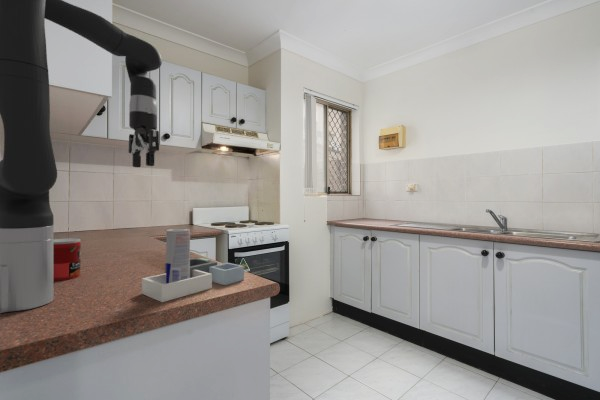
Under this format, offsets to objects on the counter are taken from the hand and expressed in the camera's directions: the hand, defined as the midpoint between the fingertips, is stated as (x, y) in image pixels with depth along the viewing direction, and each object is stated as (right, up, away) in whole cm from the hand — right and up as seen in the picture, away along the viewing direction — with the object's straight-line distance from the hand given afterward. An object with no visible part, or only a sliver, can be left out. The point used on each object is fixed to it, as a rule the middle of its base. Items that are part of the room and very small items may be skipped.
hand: (143, 166), depth 92 cm
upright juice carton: (+17, -33, -15) cm, 40 cm away
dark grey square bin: (+16, -33, -3) cm, 37 cm away
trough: (+17, -34, -15) cm, 40 cm away
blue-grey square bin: (+27, -34, -5) cm, 43 cm away
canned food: (-21, -33, -4) cm, 40 cm away
